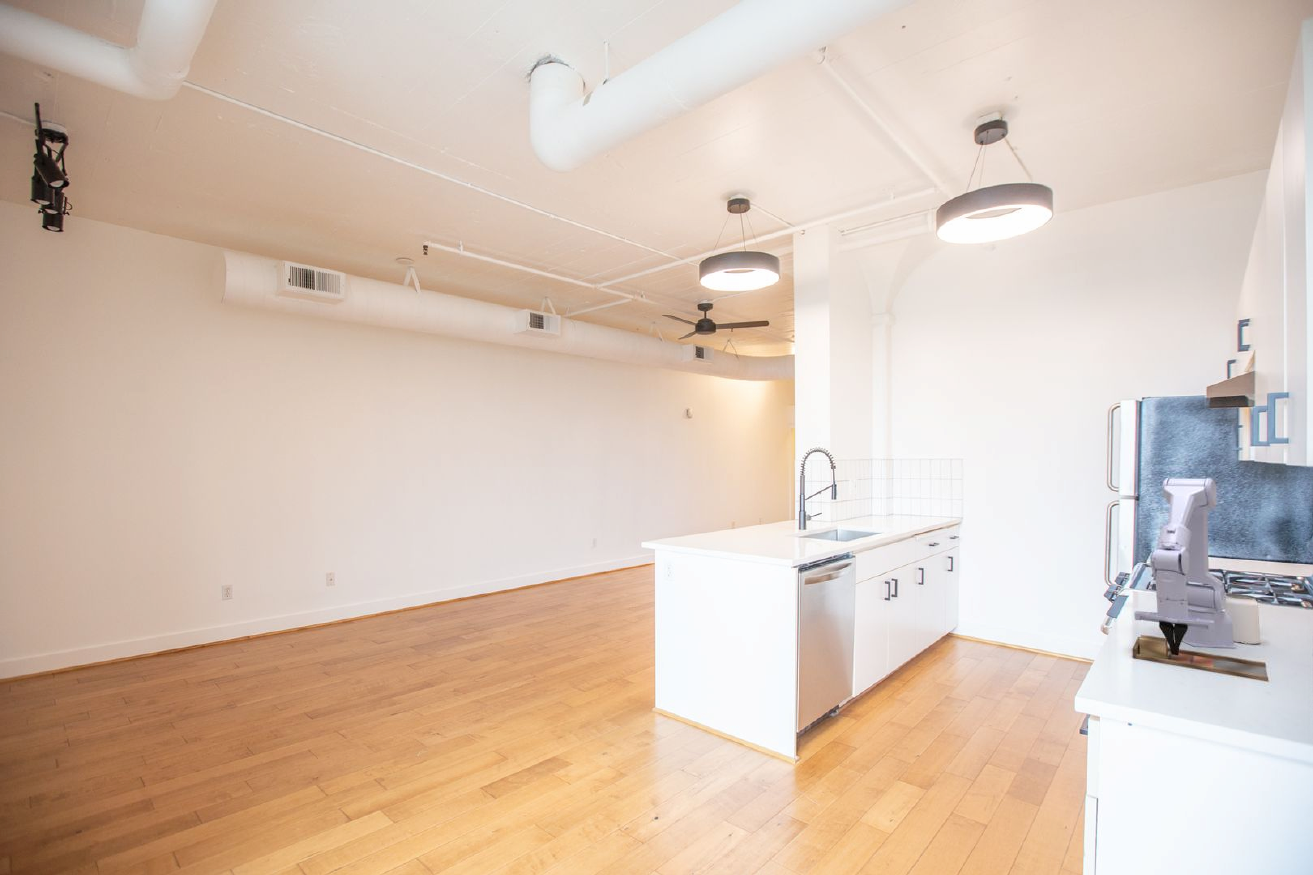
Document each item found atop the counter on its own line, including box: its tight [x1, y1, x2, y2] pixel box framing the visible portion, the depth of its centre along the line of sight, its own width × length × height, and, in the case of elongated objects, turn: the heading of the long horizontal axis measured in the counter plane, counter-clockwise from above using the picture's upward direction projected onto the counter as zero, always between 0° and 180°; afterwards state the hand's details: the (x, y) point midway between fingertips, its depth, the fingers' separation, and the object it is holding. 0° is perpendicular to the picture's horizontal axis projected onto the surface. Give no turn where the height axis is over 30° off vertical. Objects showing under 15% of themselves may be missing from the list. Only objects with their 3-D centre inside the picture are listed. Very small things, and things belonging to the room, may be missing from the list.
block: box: [1139, 634, 1169, 659], centre depth 144 cm, size 5×5×4 cm
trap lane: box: [1132, 636, 1269, 682], centre depth 139 cm, size 23×13×2 cm, turn 45°
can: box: [1223, 593, 1261, 645], centre depth 154 cm, size 6×6×12 cm
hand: (1175, 654), depth 141 cm, fingers closed
